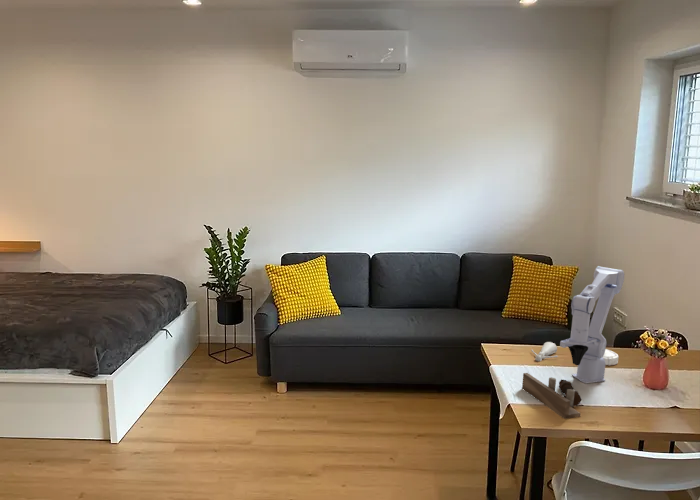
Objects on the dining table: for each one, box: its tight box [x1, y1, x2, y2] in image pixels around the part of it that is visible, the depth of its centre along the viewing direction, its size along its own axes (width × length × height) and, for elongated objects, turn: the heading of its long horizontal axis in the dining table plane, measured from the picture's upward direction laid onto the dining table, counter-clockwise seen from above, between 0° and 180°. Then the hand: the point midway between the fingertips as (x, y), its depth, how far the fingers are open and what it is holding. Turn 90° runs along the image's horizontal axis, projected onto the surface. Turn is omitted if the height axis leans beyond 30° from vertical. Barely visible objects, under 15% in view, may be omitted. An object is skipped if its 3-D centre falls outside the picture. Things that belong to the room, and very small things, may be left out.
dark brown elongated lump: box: [558, 379, 582, 407], centre depth 212 cm, size 6×5×15 cm
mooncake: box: [603, 348, 620, 366], centre depth 248 cm, size 12×12×4 cm
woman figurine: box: [530, 341, 559, 362], centre depth 251 cm, size 12×4×18 cm
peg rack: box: [521, 372, 582, 420], centre depth 207 cm, size 8×24×6 cm, turn 18°
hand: (576, 364), depth 217 cm, fingers closed
